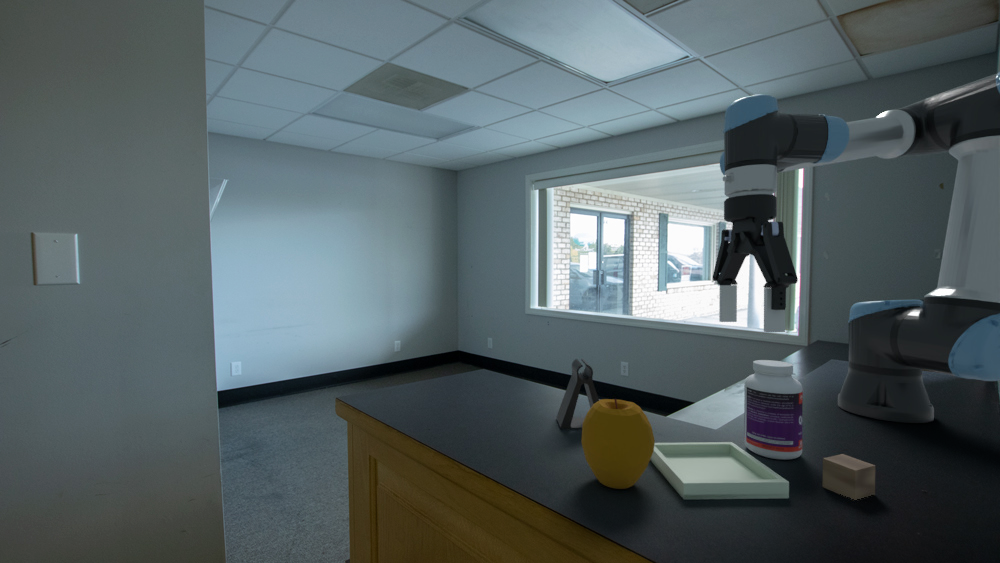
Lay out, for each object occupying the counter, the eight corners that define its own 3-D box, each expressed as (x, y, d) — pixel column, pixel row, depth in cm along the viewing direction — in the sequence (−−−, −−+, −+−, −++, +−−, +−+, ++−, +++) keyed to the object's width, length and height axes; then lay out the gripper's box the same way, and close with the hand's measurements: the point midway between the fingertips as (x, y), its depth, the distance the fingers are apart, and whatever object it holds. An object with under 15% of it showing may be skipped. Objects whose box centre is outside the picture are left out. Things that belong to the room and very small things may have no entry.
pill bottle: (811, 464, 68) (813, 369, 68) (753, 460, 70) (754, 367, 70) (789, 444, 76) (790, 359, 76) (737, 441, 78) (738, 357, 77)
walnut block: (842, 482, 63) (842, 453, 63) (874, 495, 59) (875, 465, 59) (822, 487, 61) (823, 458, 61) (854, 501, 57) (855, 470, 57)
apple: (650, 471, 66) (651, 391, 66) (658, 504, 57) (659, 411, 56) (582, 464, 68) (583, 387, 68) (579, 495, 59) (579, 406, 58)
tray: (732, 455, 72) (732, 442, 72) (788, 498, 58) (789, 482, 58) (646, 456, 71) (646, 442, 71) (683, 499, 58) (683, 483, 58)
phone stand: (560, 429, 83) (560, 364, 83) (556, 419, 89) (556, 358, 89) (609, 429, 83) (609, 365, 83) (601, 419, 89) (602, 358, 89)
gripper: (693, 207, 86) (693, 318, 87) (773, 181, 61) (772, 337, 62) (733, 207, 86) (732, 318, 87) (828, 180, 61) (827, 337, 62)
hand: (749, 326), depth 74 cm, fingers open, 13 cm apart
